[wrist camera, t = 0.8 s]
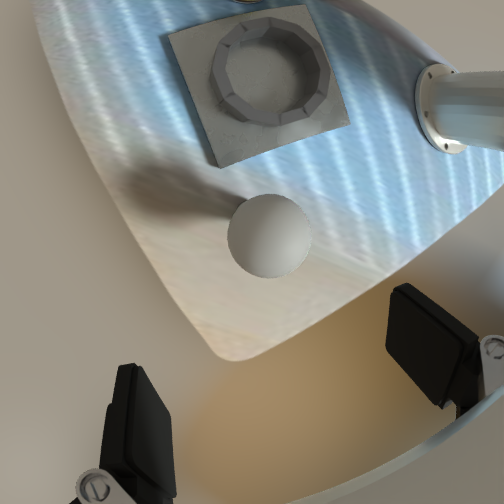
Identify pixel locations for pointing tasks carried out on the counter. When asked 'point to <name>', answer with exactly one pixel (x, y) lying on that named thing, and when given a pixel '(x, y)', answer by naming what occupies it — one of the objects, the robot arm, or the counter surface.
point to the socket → (292, 38)
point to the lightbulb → (269, 236)
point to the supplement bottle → (247, 1)
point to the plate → (254, 85)
